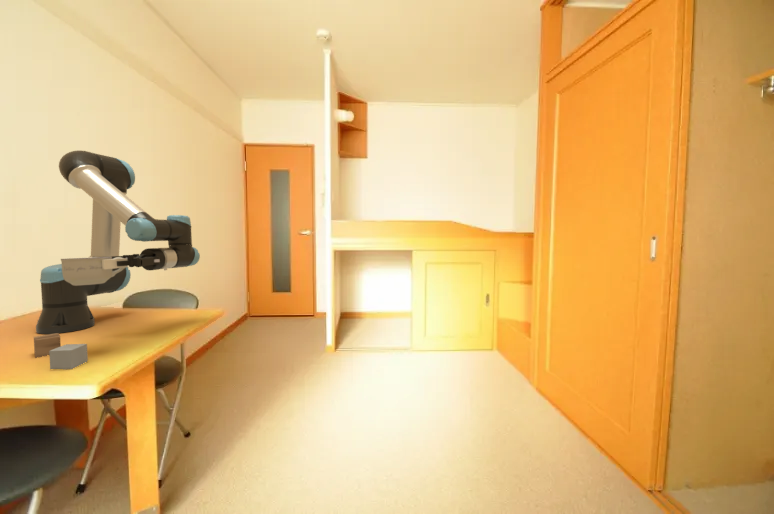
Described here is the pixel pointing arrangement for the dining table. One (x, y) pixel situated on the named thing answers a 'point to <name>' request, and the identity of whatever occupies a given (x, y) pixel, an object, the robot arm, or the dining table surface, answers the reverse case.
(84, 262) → the teacup
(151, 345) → the dining table surface
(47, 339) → the walnut block
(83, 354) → the slate block
